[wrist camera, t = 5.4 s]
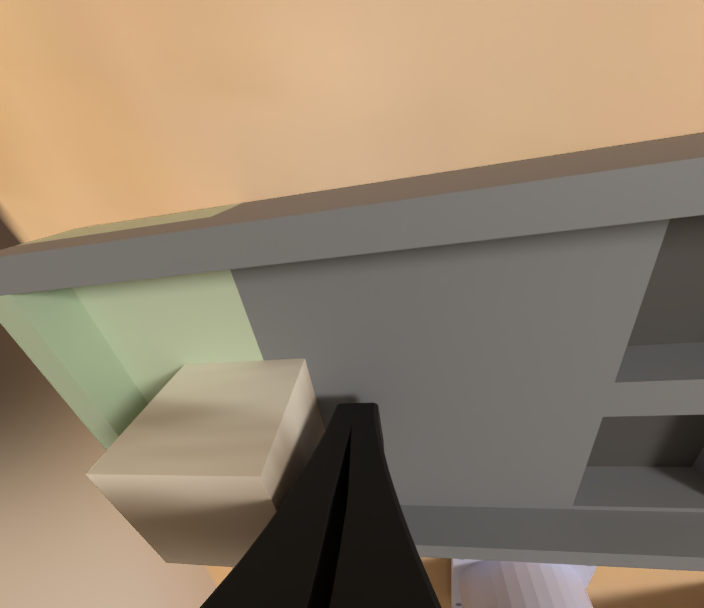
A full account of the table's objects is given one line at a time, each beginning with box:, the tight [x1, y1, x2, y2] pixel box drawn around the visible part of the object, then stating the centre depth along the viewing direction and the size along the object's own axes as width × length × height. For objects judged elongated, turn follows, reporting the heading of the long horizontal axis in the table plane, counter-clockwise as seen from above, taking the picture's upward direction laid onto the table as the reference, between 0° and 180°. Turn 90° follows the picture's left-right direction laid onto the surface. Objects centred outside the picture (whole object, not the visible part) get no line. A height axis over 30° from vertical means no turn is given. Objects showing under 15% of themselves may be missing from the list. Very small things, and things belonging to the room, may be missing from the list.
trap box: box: [0, 132, 704, 571], centre depth 11 cm, size 14×24×4 cm, turn 99°
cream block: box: [85, 358, 325, 567], centre depth 10 cm, size 4×4×4 cm
